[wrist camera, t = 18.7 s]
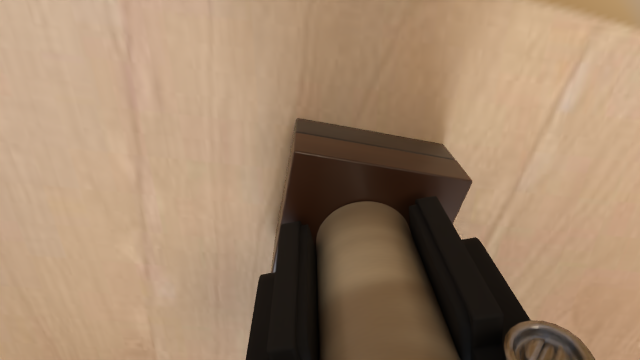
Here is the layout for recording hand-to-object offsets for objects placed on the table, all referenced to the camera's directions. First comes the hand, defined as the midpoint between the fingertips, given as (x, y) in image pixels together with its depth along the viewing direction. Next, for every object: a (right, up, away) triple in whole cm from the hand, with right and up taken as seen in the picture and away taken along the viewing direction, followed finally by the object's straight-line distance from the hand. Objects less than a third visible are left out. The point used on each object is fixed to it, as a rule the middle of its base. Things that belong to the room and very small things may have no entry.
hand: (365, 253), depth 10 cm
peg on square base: (0, +2, +3) cm, 3 cm away
